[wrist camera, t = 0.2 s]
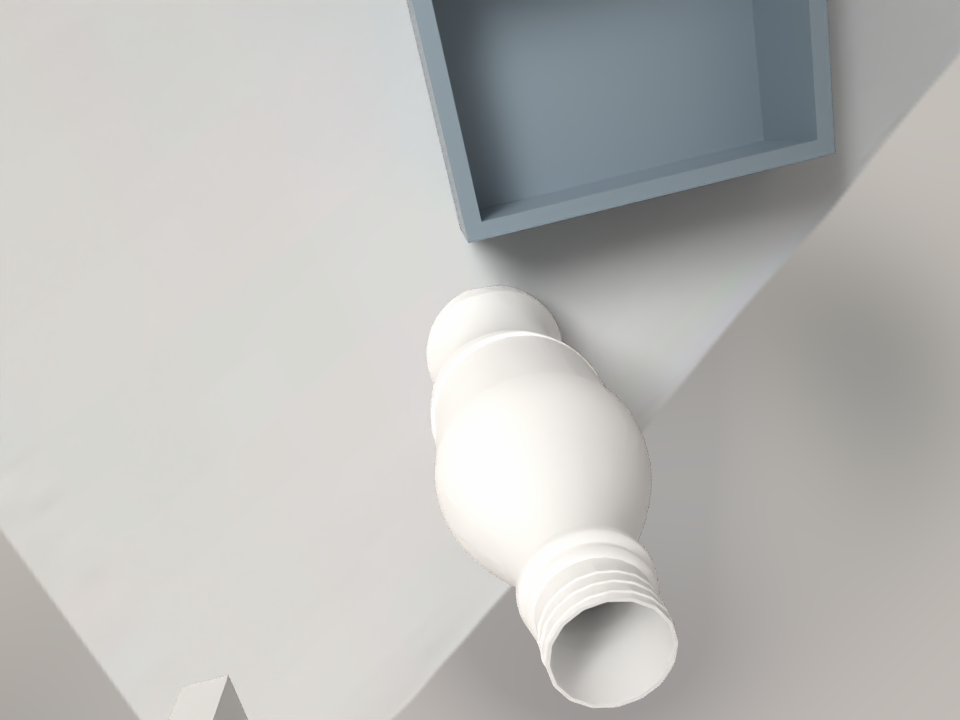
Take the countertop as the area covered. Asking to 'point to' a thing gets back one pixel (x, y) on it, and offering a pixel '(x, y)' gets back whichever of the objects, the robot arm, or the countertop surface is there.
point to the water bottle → (549, 492)
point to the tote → (617, 99)
